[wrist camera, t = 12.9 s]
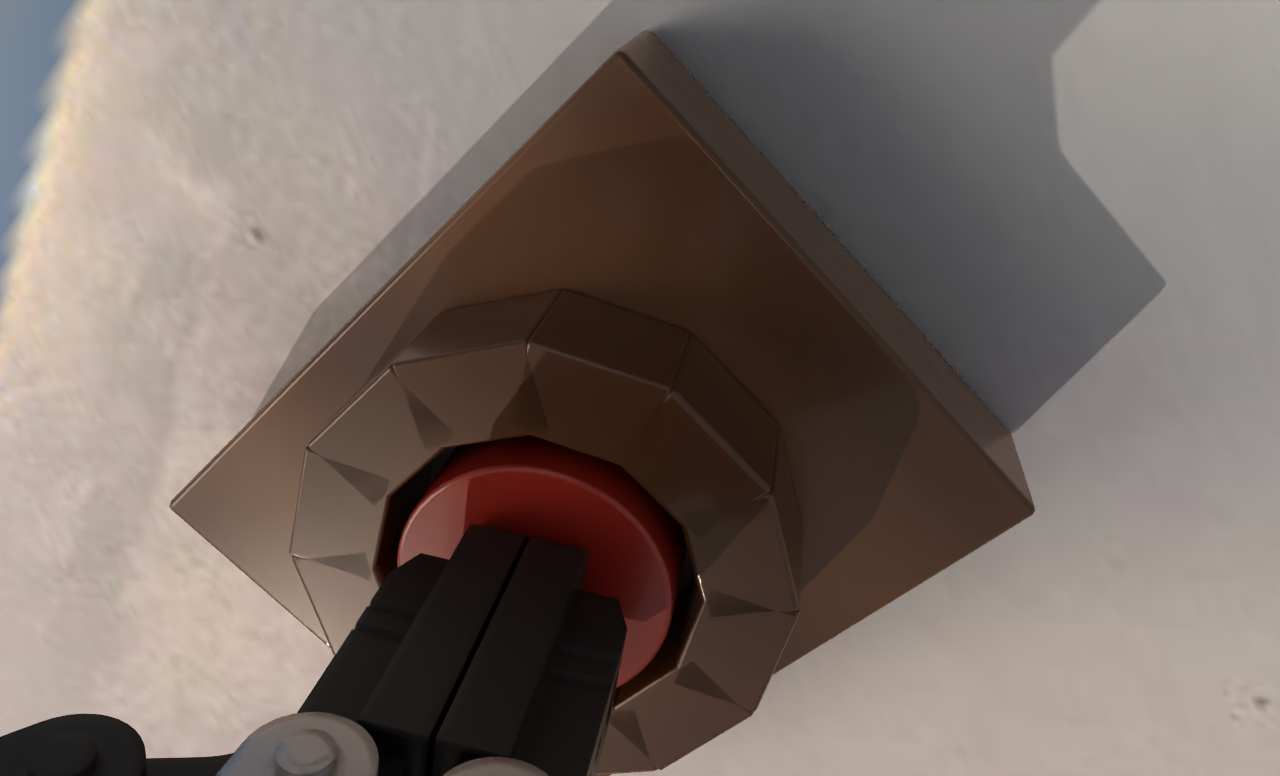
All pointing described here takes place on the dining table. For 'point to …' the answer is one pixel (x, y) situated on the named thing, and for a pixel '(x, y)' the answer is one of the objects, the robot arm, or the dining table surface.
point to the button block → (635, 402)
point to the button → (562, 526)
